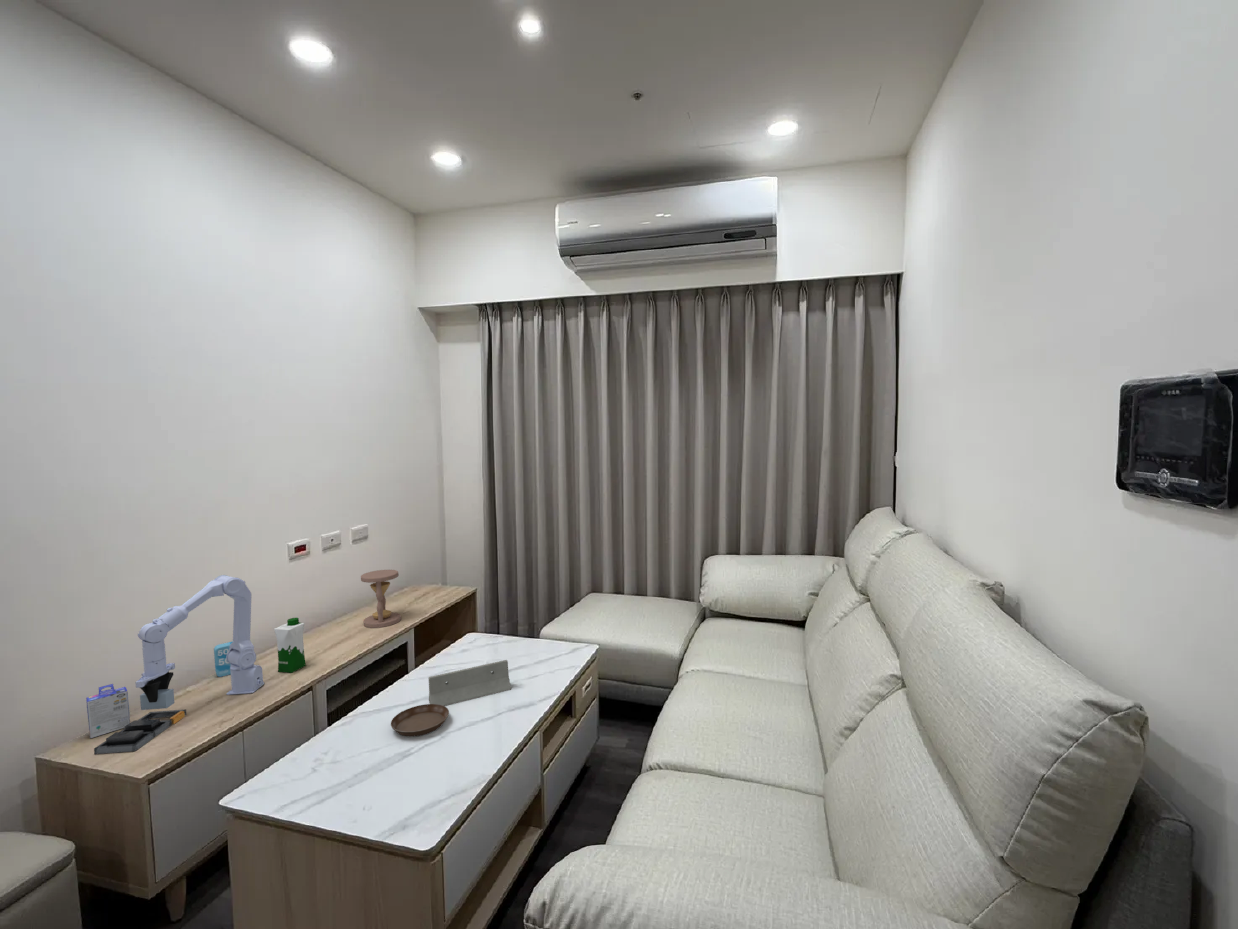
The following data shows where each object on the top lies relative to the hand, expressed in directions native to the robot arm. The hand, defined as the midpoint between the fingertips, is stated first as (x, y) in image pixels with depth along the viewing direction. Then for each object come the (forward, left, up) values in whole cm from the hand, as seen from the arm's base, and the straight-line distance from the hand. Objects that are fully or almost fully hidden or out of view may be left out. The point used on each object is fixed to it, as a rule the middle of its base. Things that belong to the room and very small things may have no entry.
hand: (157, 698), depth 183 cm
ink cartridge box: (+13, +3, -8) cm, 16 cm away
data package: (-1, -39, -8) cm, 40 cm away
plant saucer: (-90, +15, -8) cm, 92 cm away
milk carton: (-24, -38, -8) cm, 46 cm away
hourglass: (-42, -91, -8) cm, 100 cm away
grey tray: (0, +7, -8) cm, 11 cm away
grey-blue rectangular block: (0, 0, -3) cm, 3 cm away
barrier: (-102, -4, -8) cm, 103 cm away
